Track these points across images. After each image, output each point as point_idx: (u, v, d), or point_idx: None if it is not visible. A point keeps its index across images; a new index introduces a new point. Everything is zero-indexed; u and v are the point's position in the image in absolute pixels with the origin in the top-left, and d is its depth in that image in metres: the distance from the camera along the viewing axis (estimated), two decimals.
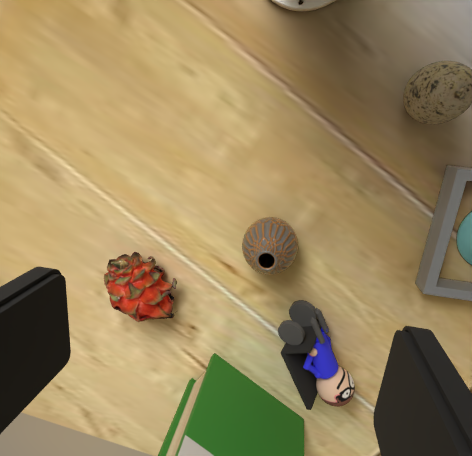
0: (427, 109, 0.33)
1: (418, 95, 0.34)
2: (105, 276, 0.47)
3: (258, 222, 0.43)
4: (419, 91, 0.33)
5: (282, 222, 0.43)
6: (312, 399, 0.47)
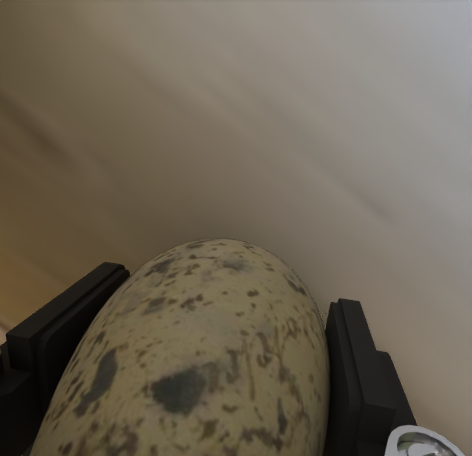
0: None
1: None
2: None
3: None
4: None
5: None
6: None
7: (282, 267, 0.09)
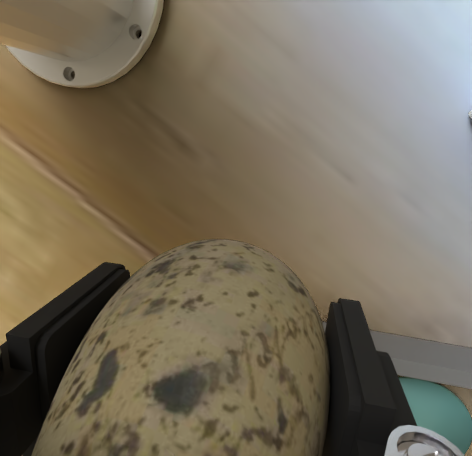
0: None
1: None
2: None
3: None
4: None
5: None
6: None
7: (282, 267, 0.09)
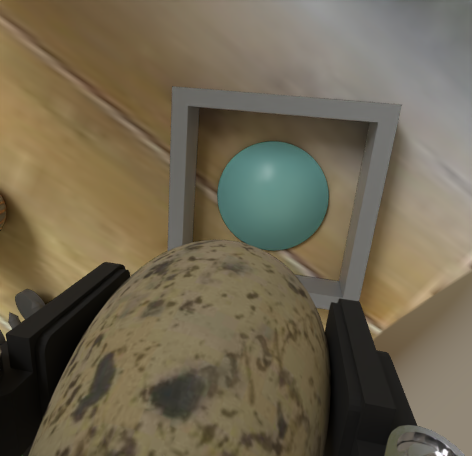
0: None
1: None
2: None
3: None
4: None
5: None
6: None
7: (282, 268, 0.09)
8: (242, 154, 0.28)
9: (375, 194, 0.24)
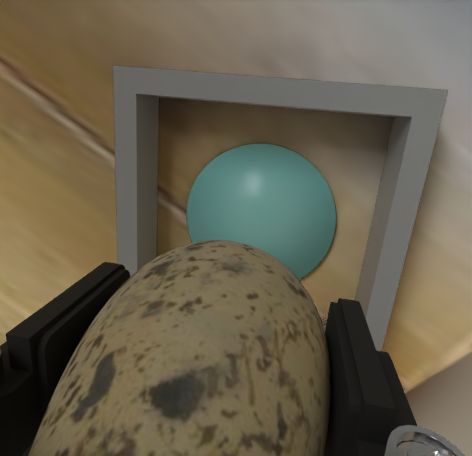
0: None
1: None
2: None
3: None
4: None
5: None
6: None
7: (282, 268, 0.09)
8: (217, 161, 0.20)
9: (405, 220, 0.17)
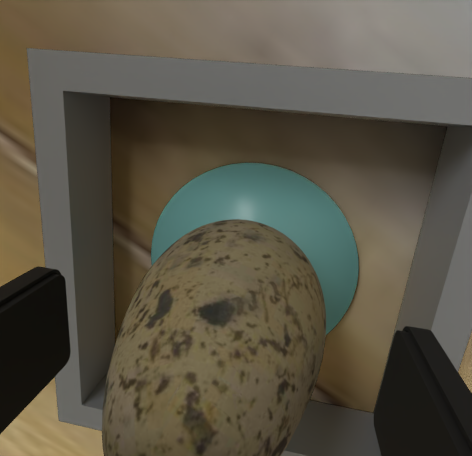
0: None
1: None
2: None
3: None
4: None
5: None
6: None
7: (289, 241, 0.11)
8: (192, 186, 0.14)
9: (471, 285, 0.11)
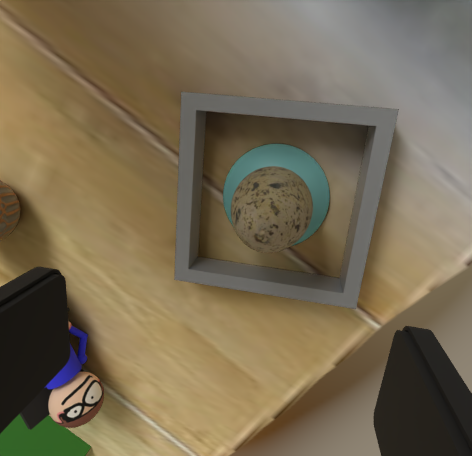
0: None
1: None
2: None
3: None
4: (231, 214, 0.24)
5: None
6: (40, 416, 0.35)
7: None
8: (247, 155, 0.29)
9: (374, 194, 0.25)
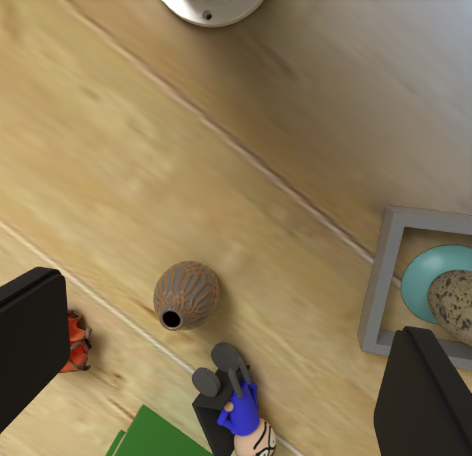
0: (457, 337, 0.30)
1: (446, 319, 0.31)
2: None
3: (171, 269, 0.37)
4: (448, 316, 0.30)
5: (199, 269, 0.37)
6: None
7: None
8: (428, 253, 0.36)
9: None
